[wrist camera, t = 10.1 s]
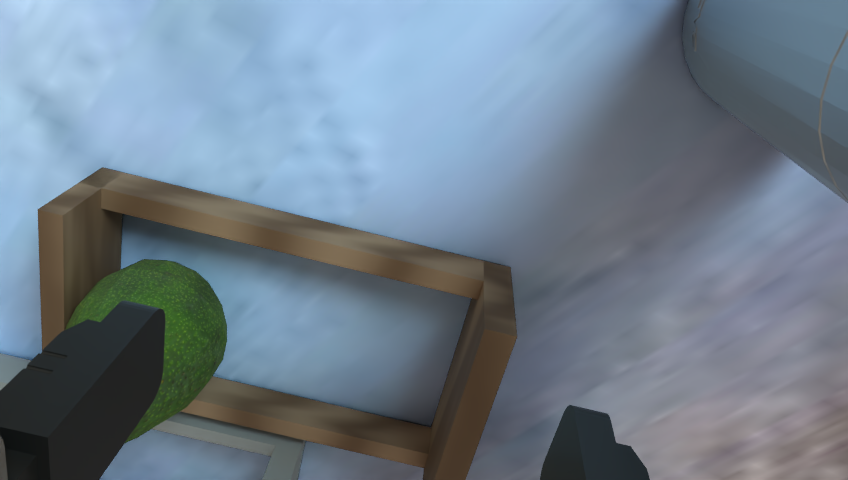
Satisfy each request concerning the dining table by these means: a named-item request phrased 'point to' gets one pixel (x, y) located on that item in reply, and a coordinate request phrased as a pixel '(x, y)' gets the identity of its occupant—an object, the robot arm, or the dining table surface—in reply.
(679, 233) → the dining table surface
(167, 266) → the avocado
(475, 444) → the frame
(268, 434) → the grey open rectangular frame
